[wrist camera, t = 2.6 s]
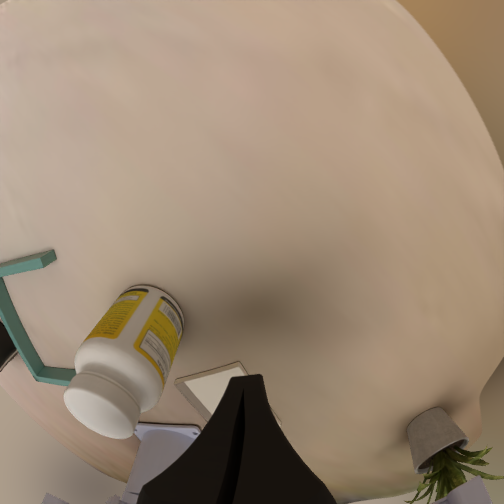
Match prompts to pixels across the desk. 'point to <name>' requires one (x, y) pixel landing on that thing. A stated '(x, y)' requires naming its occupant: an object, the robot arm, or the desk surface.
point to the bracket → (5, 309)
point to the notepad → (209, 388)
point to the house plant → (441, 453)
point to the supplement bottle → (125, 362)
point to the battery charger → (6, 347)
